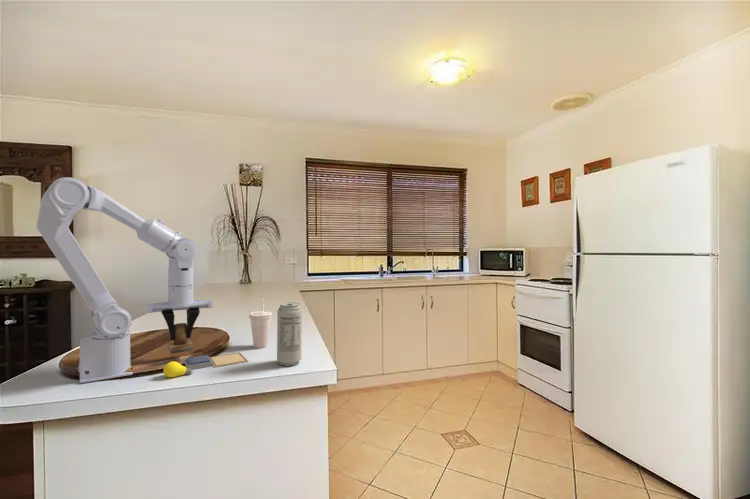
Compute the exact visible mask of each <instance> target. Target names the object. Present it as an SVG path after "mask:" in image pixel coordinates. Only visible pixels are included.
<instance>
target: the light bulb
mask: <svg viewBox="0 0 750 499" xmlns="http://www.w3.org/2000/svg"><path fill="white" fill-rule="evenodd" d="M162 371H163V372H162V373H163V374H164V376H165V377H166V378H170V379H173V378H177V377H181V376H185V375H188V376H190V375H192V374H193V370H192V369H189V368H186V366H185V365H183V364H181V363H179V362H178V361H174V360H173V361H169V362H167V363H166V364H165V365H164V367H163V370H162Z"/></svg>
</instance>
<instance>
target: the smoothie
mask: <svg viewBox="0 0 750 499" xmlns="http://www.w3.org/2000/svg"><path fill="white" fill-rule="evenodd" d="M264 301H265V298H264V297H262V298H261V310H259V311H252V312H250V313H249V314H248V318H249V319H250V327H251V335H252V344H253V348H254V349H265V348H267V347H268V342H269V335H270V326H271V320H272V319H271V318H272V317H273V312H271V311H268V310H264V309H265V303H264Z"/></svg>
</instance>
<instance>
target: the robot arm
mask: <svg viewBox="0 0 750 499" xmlns="http://www.w3.org/2000/svg"><path fill="white" fill-rule="evenodd" d="M81 208H82V210H84V211H93V212H94V211H95V212H101V213H103V214H105V215H107V216H108V217H110V218H113V219H114V220H115V221H118V222H120V223H121V224H123V225H125V226H127V227H128V228H130V229H132V230H134V231H135V232H136V235H137V238H138V239H139V240H141V241H143V242H144V243H146V244H148V245H149V246H151V247H153V248H155V249H156V250H158V251H159V252H161V253H165V255H166V256H167V257H168V272H167V274H168V276H167V278H168V279H167V285H168V286H167V301H164V302H163V301H162V302H156V303H148V304H147V305H146V307H147V308H146V313H147V314H152V313H159V312H161V314H162V316H163V318H164V320H165V324H166V325H167V328H168V331H169V338H170V340H171V341H174V324H175V313H174V312H175V311H184V310H186V324H187V339H191V336H192V331H193V328H194V326H195V323H196V321H197V319H198V318H199V316H200V313H201V310H200V309H213V301H212V299H201V300H199V299H195V300H194V281H195V280H194V277H195V276H194V274H195V273H194V270H195V269H194V268H195V267H194V264H195V263H194V259H195V258H196V257H197V255H198V252H199V250H198V249H197V246H196V245H195V242H194V241H193V240H191V239H189V238H184V237H182V233H181V232H179V231H174V230H173V229H171V228H170V227H168V226H166V225H165V221H164V220H162V219H155V218H148V219H144V218H143V217H141V216H140V215H138V214H137V213H135V212H134V211H132V210H130V209H129V208H127V207H126V206H125V205H123V204H122V203H120V202H118V201H117V200H116V199H114V198H112V197H111V196H109V195H107V193H104V192H103V191H101V190H99V189H97V188H95V187H93V186H91V185H86V184H85V183H84V182H83V181H82V180H79V179H78V178H74V177H71V176H70V177H68V176H66V177H65V176H64V177H60V178H58V179H57V178H56V180H54V181H53V182H52V183H51V184H50V185H49V186H48V187H47V189H46V191H45V192H44V193H43V195H42V196H41V201H40V205H39V211H38V216H37V221H36V228H37V231H38V232H39V235H41V237H42V238H43V240H44V241H45V243H46V244H47V245H48V248H49V249H50V250H51V252H52V253H53V255H54V256H55V258H56V260H57V261H58V262H59V264H60V266H61V267H62V269H63V271H64V272H65V273H66V274H67V276H68V278H69V279H70V281H71V282H72V284H73V285H74V287H75V288H76V290H77V291H78V293H79V294H80V296H81V297H82V300H84V302H85V304H86V306H87V307H88V309H89V311H90V313H91V315H90V319H91V323H92V324H93V326H94V327H96V328H95V329H94V330H93V332H91V335H90V336H89V337H82V338H80V341H79V353H78V354H79V363H78V368H77V369H78V373H79V384H84V383H89V382H97V381H102V380H109V379H114V378H120V377H126V376H127V377H128V376H132V375H133V374H134V371H133V372H125V371H126V370H127V369H128V368H129V367H130V363H131V329H130V327H131V326H132V316H131V314H130V313H129V311H128V310H126V309H123V308H122V307H121V305H119V304H118V303H117V301H116V300H115V299H114V296H112V295H111V294H110V292H109V290H108V289H107V287H106V285H105V284H104V283H103V280H102V279H101V278H100V276H99V274H98V272H97V271H96V270H95V268H94V266H93V265H92V263H91V262H90V260H89V259H88V257H87V255H86V253H85V252H84V250H83V249H82V247H81V245H80V244H79V243H78V241H77V240H76V238H75V236H74V235H73V233H72V232H71V231H72V230H70V225H71V224H72V221H73V219H74V218H75V215H76V213H77V212H78V211H79V210H80V209H81ZM85 371H89V373H85ZM124 372H125V373H124Z"/></svg>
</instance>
